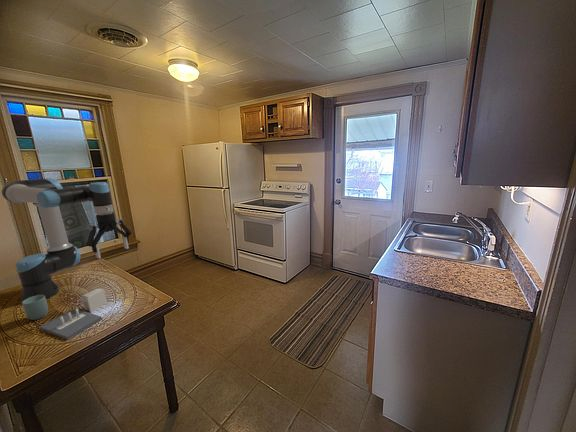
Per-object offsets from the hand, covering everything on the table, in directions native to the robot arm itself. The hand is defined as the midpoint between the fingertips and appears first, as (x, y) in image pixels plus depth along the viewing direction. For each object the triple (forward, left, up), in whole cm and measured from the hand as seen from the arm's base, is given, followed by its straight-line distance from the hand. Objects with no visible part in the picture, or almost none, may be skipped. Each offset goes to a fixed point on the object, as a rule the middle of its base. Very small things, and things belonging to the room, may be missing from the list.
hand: (113, 253), depth 126 cm
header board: (-3, -23, -27) cm, 35 cm away
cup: (-25, -25, -27) cm, 44 cm away
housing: (-7, -10, -27) cm, 30 cm away
